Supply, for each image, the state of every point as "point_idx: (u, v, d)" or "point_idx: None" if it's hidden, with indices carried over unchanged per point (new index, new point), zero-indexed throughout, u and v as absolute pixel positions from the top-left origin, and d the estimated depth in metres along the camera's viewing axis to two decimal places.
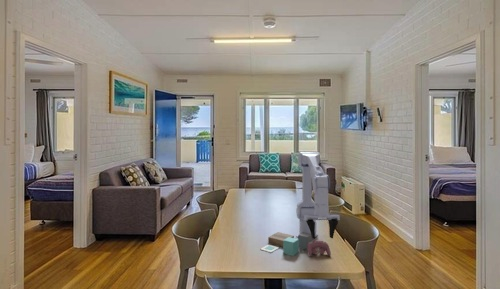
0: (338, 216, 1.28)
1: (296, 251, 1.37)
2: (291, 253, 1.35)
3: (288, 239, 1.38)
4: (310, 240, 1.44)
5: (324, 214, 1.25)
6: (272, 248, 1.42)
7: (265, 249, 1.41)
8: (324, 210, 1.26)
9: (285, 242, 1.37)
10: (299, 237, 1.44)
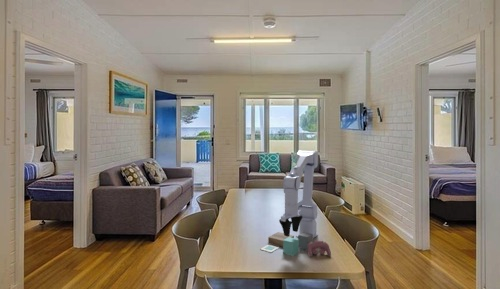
0: (300, 211, 1.42)
1: (296, 251, 1.37)
2: (291, 253, 1.35)
3: (288, 239, 1.38)
4: (310, 240, 1.43)
5: (297, 212, 1.36)
6: (272, 248, 1.42)
7: (265, 249, 1.41)
8: (297, 209, 1.36)
9: (285, 242, 1.37)
10: (299, 237, 1.44)
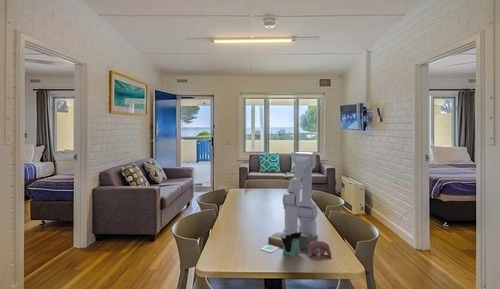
0: (300, 226, 1.43)
1: (296, 251, 1.37)
2: (291, 253, 1.35)
3: None
4: (310, 240, 1.44)
5: (296, 229, 1.36)
6: (272, 248, 1.42)
7: (265, 249, 1.41)
8: (296, 225, 1.36)
9: None
10: (299, 237, 1.44)
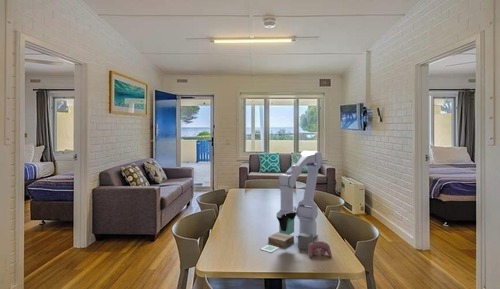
0: (295, 207, 1.48)
1: (292, 230, 1.42)
2: (287, 232, 1.40)
3: None
4: (310, 240, 1.44)
5: (292, 209, 1.41)
6: (272, 248, 1.42)
7: (265, 249, 1.41)
8: (292, 205, 1.41)
9: None
10: (299, 237, 1.44)
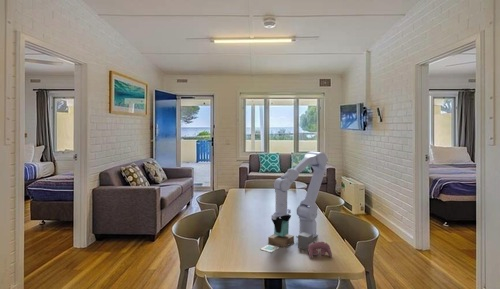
0: (290, 210, 1.55)
1: (286, 232, 1.49)
2: (281, 234, 1.47)
3: None
4: (310, 240, 1.43)
5: (286, 211, 1.48)
6: (272, 248, 1.42)
7: (265, 249, 1.41)
8: (286, 208, 1.48)
9: None
10: (299, 237, 1.44)
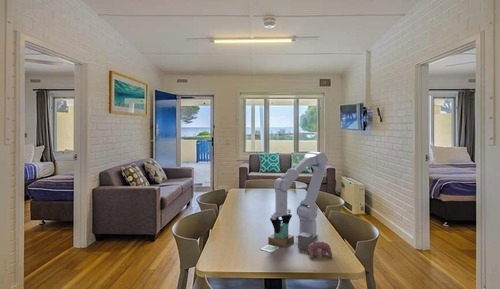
0: (290, 210, 1.55)
1: (286, 235, 1.49)
2: (281, 236, 1.47)
3: None
4: (310, 240, 1.43)
5: (286, 211, 1.48)
6: (272, 248, 1.42)
7: (265, 249, 1.41)
8: (286, 208, 1.48)
9: None
10: (299, 237, 1.44)
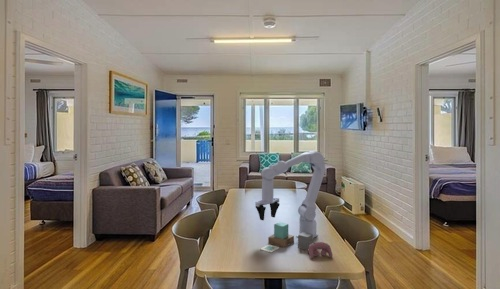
0: (278, 199, 1.58)
1: (286, 235, 1.49)
2: (281, 236, 1.47)
3: (279, 224, 1.50)
4: (310, 240, 1.44)
5: (271, 200, 1.52)
6: (272, 248, 1.42)
7: (265, 249, 1.41)
8: (271, 196, 1.52)
9: (276, 226, 1.49)
10: (299, 237, 1.44)
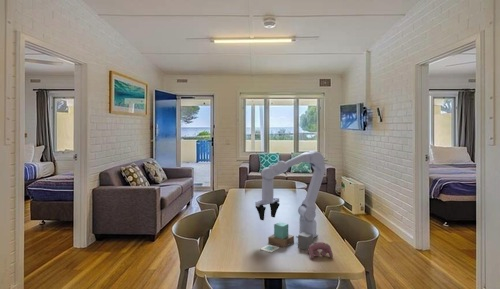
0: (278, 199, 1.58)
1: (286, 235, 1.49)
2: (281, 236, 1.47)
3: (279, 224, 1.50)
4: (310, 240, 1.44)
5: (271, 200, 1.52)
6: (272, 248, 1.42)
7: (265, 249, 1.41)
8: (271, 196, 1.52)
9: (276, 226, 1.49)
10: (299, 237, 1.44)
